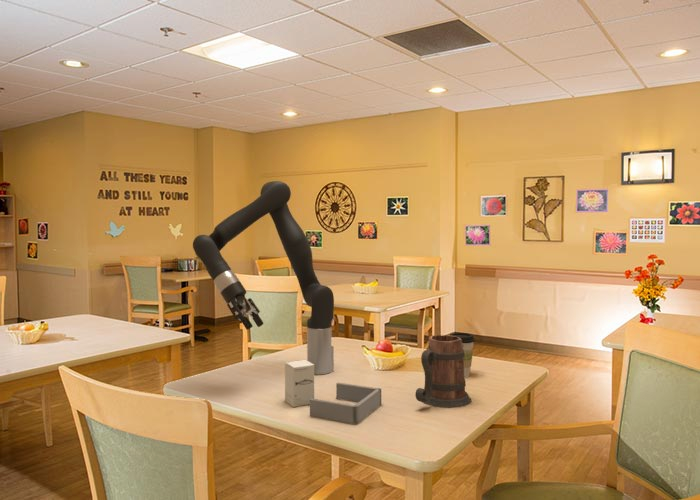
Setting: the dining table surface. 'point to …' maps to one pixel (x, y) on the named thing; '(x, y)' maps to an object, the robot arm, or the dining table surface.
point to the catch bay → (346, 412)
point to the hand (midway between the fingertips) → (255, 326)
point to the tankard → (444, 373)
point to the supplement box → (299, 382)
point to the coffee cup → (466, 350)
